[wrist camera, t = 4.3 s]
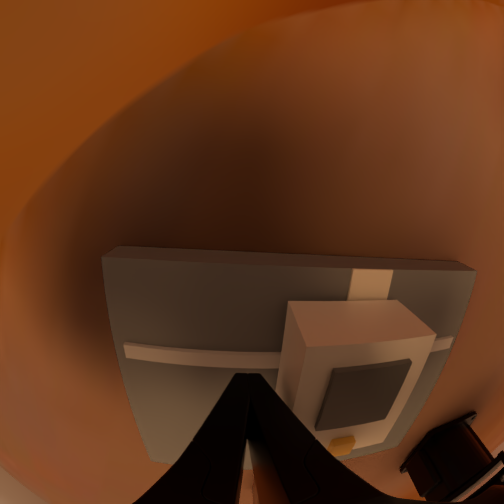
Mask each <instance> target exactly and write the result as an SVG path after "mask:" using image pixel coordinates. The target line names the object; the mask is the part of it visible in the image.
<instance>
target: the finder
mask: <svg viewBox="0 0 504 504" xmlns="http://www.w3.org/2000/svg"><path fill="white" fill-rule="evenodd" d="M436 335H437V334H436V333H435V332H434V331H433V330H431V329H430V328H429V327H428V326H427V325H426V324H425V323H424V322H422V321H421V320H420V319H419V318H418V317H417V316H416V315H414V314H413V313H412V312H411V311H410V310H409V309H407V308H406V307H405V306H404V305H403V304H402V303H400V302H399V301H398V300H371V301H288V306H287V314H286V322H285V329H284V337H283V344H282V351H281V357H280V364H279V371H278V377H277V383H276V389H275V392H276V393H277V394H278V395H279V396H280V398H281V399H282V400H283V401H284V402H285V404H286V405H287V406H288V407H289V408H290V409H291V411H292V412H293V413H294V414H295V415H296V416H297V417H298V419H299V420H300V421H301V422H302V423H303V424H304V425H305V426H306V428H307V429H308V430H309V431H310V432H311V433H312V434H313V435H314V436H315V438H316V439H317V440H318V441H319V442H320V443H321V444H322V445H323V446H324V447H325V448H326V449H327V450H328V451H329V452H330V453H331V454H332V455H333V456H334V457H336V456H342V455H347V454H349V453H350V452H351V450H352V449H357V448H362V447H366V446H370V445H374V444H378V443H382V442H383V441H384V440H385V438H386V437H387V435H388V433H389V432H390V430H391V428H392V427H393V425H394V423H395V422H396V420H397V418H398V417H399V415H400V413H401V411H402V409H403V408H404V406H405V404H406V402H407V400H408V398H409V396H410V394H411V392H412V390H413V388H414V386H415V384H416V382H417V380H418V378H419V376H420V374H421V372H422V369H423V367H424V365H425V363H426V360H427V358H428V355H429V353H430V351H431V348H432V346H433V343H434V340H435V338H436ZM316 439H315V440H316Z"/></svg>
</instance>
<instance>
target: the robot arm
mask: <svg viewBox="0 0 504 504" xmlns="http://www.w3.org/2000/svg"><path fill="white" fill-rule="evenodd" d="M476 416H477V413H476V412H475V411H474V412H472V413H470V414H468V415H466V416H464V417H462V418H460V419H458V420H456V421H453V422H451V423H449V424H447V425H444V426H442V427H440V428H437V429H435V430H433V431H431V432H430V433H429V434H428V435H427V436H426V437H425V439H424V440H423V441H422V443H421V444H420V445H419V447H418V448H417V449H416V451H415V452H414V453H413V454H412V456H411V457H410V458H409V459H408V460H407V462H406V463H405V464H404V465H403V466H402V468H401V469H400V472H401V473H405V472H408V473H409V475H410V477H411V479H412V481H413V483H414V485H415V487H416V489H417V491H418V493H419V495H420V497H425V499H426V501H420V500H410V499H402V498H396V497H393V496H390V495H387V494H385V493H383V492H381V491H379V490H378V489H376V488H374V487H373V486H372V485H370V484H369V483H367V482H366V481H365V480H363V479H362V478H360V477H359V476H358V475H356V474H355V473H354V472H352V471H351V470H350V469H348V468H347V467H346V466H345V465H343V464H342V463H341V462H340V461H339V460H337V459H336V458H335V457H334V456H333V455H332V454H331V453H330V452H329V451H328V450H327V449H326V448H325V447H324V446H323V445H322V444H321V443H320V442H319V441H318V440H317V439H316V438H315V436H314V435H313V434H312V433H311V432H310V431H309V430H308V429H307V428H306V426H305V425H304V424H303V423H302V422H301V421H300V420H299V419H298V417H297V416H296V415H295V414H294V413H293V412H292V411H291V409H290V408H289V407H288V406H287V405H286V404H285V402H284V401H283V400H282V399H281V398H280V396H279V395H278V394H277V393H276V392H275V390H274V389H273V388H272V387H271V386H270V384H269V383H268V382H267V381H266V380H265V378H264V377H263V376H262V375H261V374H260V373H238V372H237V373H235V374H234V375H233V377H232V378H231V380H230V382H229V383H228V385H227V386H226V388H225V390H224V391H223V393H222V394H221V396H220V398H219V399H218V401H217V402H216V404H215V405H214V407H213V409H212V410H211V412H210V413H209V415H208V416H207V418H206V419H205V421H204V422H203V424H202V425H201V427H200V428H199V430H198V431H197V433H196V434H195V436H194V437H193V439H192V441H191V442H190V443H189V445H188V446H187V448H186V449H185V450H184V452H183V453H182V454H181V456H180V457H179V458H178V460H177V461H176V462H175V463H174V464H173V465H172V466H171V468H170V469H169V470H168V471H167V472H166V473H165V474H164V475H163V476H162V477H161V478H160V479H159V480H158V481H157V482H156V483H155V484H154V485H153V486H152V487H151V488H150V489H149V490H147V491H146V492H145V493H144V494H143V495H142V496H141V497H140V498H139V499H138V500H136V501H135V502H134V503H132V504H239V498H240V491H241V483H242V476H243V468H244V461H245V453H246V445H247V440H248V446H249V451H250V457H251V462H252V468H253V473H254V478H255V483H256V488H257V493H258V498H259V503H260V504H504V467H503V468H502V469H501V470H500V471H499V472H498V473H497V474H496V475H495V476H493V477H492V478H491V479H490V480H489V481H488V482H486V483H485V484H484V485H483V486H482V487H480V488H479V489H478V490H477V491H475V492H474V493H473V494H471V495H470V496H469V497H468V498H466V499H465V500H464V501H462V502H456V501H458V500H459V499H460V498H462V497H463V496H464V495H466V494H467V493H468V492H470V491H471V490H472V489H474V488H475V487H476V486H477V485H479V484H480V483H481V482H482V481H483V480H484V479H486V478H487V477H488V476H489V475H490V474H491V473H493V472H494V471H495V470H496V469H497V468H498V467H499V466H500V465H501V464H502V463H503V464H504V451H501V452H500V453H499V454H498V456H497V457H496V458H495V459H494V458H493V456H492V455H491V454H490V452H489V451H488V449H487V448H486V447H485V445H484V444H483V443H482V441H481V440H480V439H479V437H478V436H477V435H476V433H475V432H474V431H473V429H472V428H471V427H470V425H471V423H472V422H473V420H474V419H475V417H476ZM315 439H316V440H315Z"/></svg>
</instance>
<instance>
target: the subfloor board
mask: <svg viewBox="0 0 504 504" xmlns="http://www.w3.org/2000/svg"><path fill="white" fill-rule="evenodd" d="M101 261H102V271H103V280H104V288H105V295H106V302H107V309H108V315H109V320H110V326H111V331H112V336H113V341H114V346H115V350H116V355H117V359H118V363H119V367H120V371H121V375H122V378H123V382H124V386H125V389H126V393H127V396H128V399H129V402H130V406H131V409H132V412H133V415H134V418H135V421H136V424H137V426H138V429H139V432H140V435H141V437H142V440H143V442H144V445H145V447H146V450H147V452H148V455H149V457H150V460H151V461H154V462H160V463H166V464H174V463H175V462H176V461H177V460H178V458H179V457H180V456H181V454H182V453H183V452H184V450H185V449H186V448H187V446H188V445H189V443H190V442H191V441H192V439H193V437H194V436H195V434H196V433H197V431H198V430H199V428H200V427H201V425H202V424H203V422H204V421H205V419H206V418H207V416H208V415H209V413H210V412H211V410H212V409H213V407H214V405H215V404H216V402H217V401H218V399H219V398H220V396H221V394H222V393H223V391H224V390H225V388H226V386H227V385H228V383H229V382H230V380H231V378H232V377H233V375H234V374H235V373H237V372H238V373H260V374H261V375H262V376H263V377H264V378H265V380H266V381H267V382H268V383H269V384H270V386H271V387H272V388H273V389H274V390H275V389H276V383H277V377H278V371H279V364H280V357H281V351H282V344H283V337H284V329H285V322H286V314H287V306H288V301H371V300H398V301H399V302H400V303H402V304H403V305H404V306H405V307H406V308H407V309H409V310H410V311H411V312H412V313H413V314H414V315H416V316H417V317H418V318H419V319H420V320H421V321H422V322H424V323H425V324H426V325H427V326H428V327H429V328H430V329H431V330H433V331H434V332H435V333H436V334H437V335H436V338H435V340H434V343H433V346H432V348H431V351H430V353H429V355H428V358H427V360H426V363H425V365H424V367H423V369H422V372H421V374H420V376H419V378H418V380H417V382H416V384H415V386H414V388H413V390H412V392H411V394H410V396H409V398H408V400H407V402H406V404H405V406H404V408H403V409H402V411H401V413H400V415H399V417H398V418H397V420H396V422H395V423H394V425H393V427H392V428H391V430H390V432H389V433H388V435H387V437H386V438H385V440H384V441H383V442H382V443H378V444H374V445H370V446H366V447H362V448H357V449H352V450H351V452H350V453H349V454H347V455H342V456H336V457H335V458H336V459H337V460H339V461H341V460H346V459H351V458H356V457H360V456H364V455H368V454H372V453H376V452H380V451H383V450H387V449H390V448H394V447H397V446H398V445H399V443H400V442H401V441H402V439H403V438H404V436H405V435H406V433H407V432H408V430H409V429H410V427H411V425H412V424H413V422H414V421H415V419H416V418H417V416H418V414H419V413H420V411H421V409H422V407H423V406H424V404H425V402H426V400H427V399H428V397H429V395H430V393H431V391H432V389H433V388H434V386H435V384H436V382H437V380H438V378H439V376H440V374H441V372H442V369H443V367H444V365H445V363H446V361H447V358H448V356H449V354H450V352H451V349H452V347H453V344H454V342H455V339H456V337H457V334H458V332H459V329H460V326H461V324H462V321H463V318H464V315H465V312H466V309H467V306H468V303H469V299H470V296H471V293H472V289H473V286H474V282H475V278H476V274H477V271H476V270H474V269H472V268H470V267H468V266H466V265H464V264H462V263H460V262H458V261H438V260H417V259H395V258H374V257H352V256H331V255H309V254H288V253H266V252H245V251H223V250H202V249H180V248H158V247H137V246H117V247H116V248H114V249H112V250H111V251H109V252H108V253H106V254H105V255H103V256H101ZM249 469H253V468H252V462H251V457H250V451H249V446H248V440H247V445H246V453H245V461H244V468H243V470H249Z"/></svg>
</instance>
